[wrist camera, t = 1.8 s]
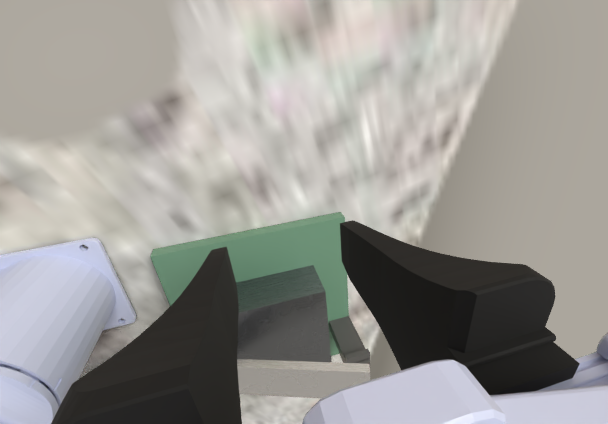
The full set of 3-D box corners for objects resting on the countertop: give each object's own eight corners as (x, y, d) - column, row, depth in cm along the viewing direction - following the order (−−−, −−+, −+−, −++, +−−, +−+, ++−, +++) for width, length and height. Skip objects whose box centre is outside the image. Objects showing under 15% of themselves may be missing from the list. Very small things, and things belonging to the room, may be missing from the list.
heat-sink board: (205, 382, 29) (201, 448, 24) (153, 249, 22) (131, 301, 17) (346, 342, 31) (369, 394, 26) (340, 212, 24) (370, 247, 19)
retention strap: (190, 380, 22) (184, 393, 21) (179, 354, 21) (172, 366, 20) (368, 389, 20) (370, 404, 19) (368, 361, 19) (370, 375, 18)
